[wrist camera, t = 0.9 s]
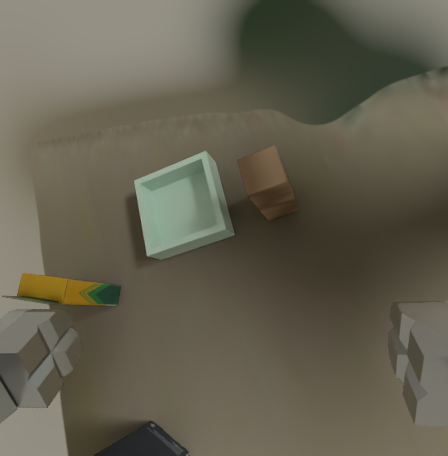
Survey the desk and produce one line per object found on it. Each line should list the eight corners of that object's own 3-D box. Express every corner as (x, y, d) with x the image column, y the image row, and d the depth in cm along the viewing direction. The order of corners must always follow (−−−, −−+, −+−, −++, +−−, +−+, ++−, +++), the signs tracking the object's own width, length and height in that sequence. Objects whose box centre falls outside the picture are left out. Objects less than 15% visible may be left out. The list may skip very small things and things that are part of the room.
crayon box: (122, 284, 45) (55, 277, 35) (118, 306, 45) (49, 306, 34) (81, 279, 48) (7, 271, 37) (76, 299, 47) (0, 297, 37)
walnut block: (289, 181, 41) (275, 144, 32) (299, 210, 40) (287, 181, 30) (259, 192, 42) (236, 160, 33) (268, 220, 41) (247, 195, 31)
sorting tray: (215, 162, 45) (205, 150, 42) (234, 235, 42) (225, 229, 38) (148, 189, 48) (134, 180, 44) (161, 259, 44) (147, 256, 41)
